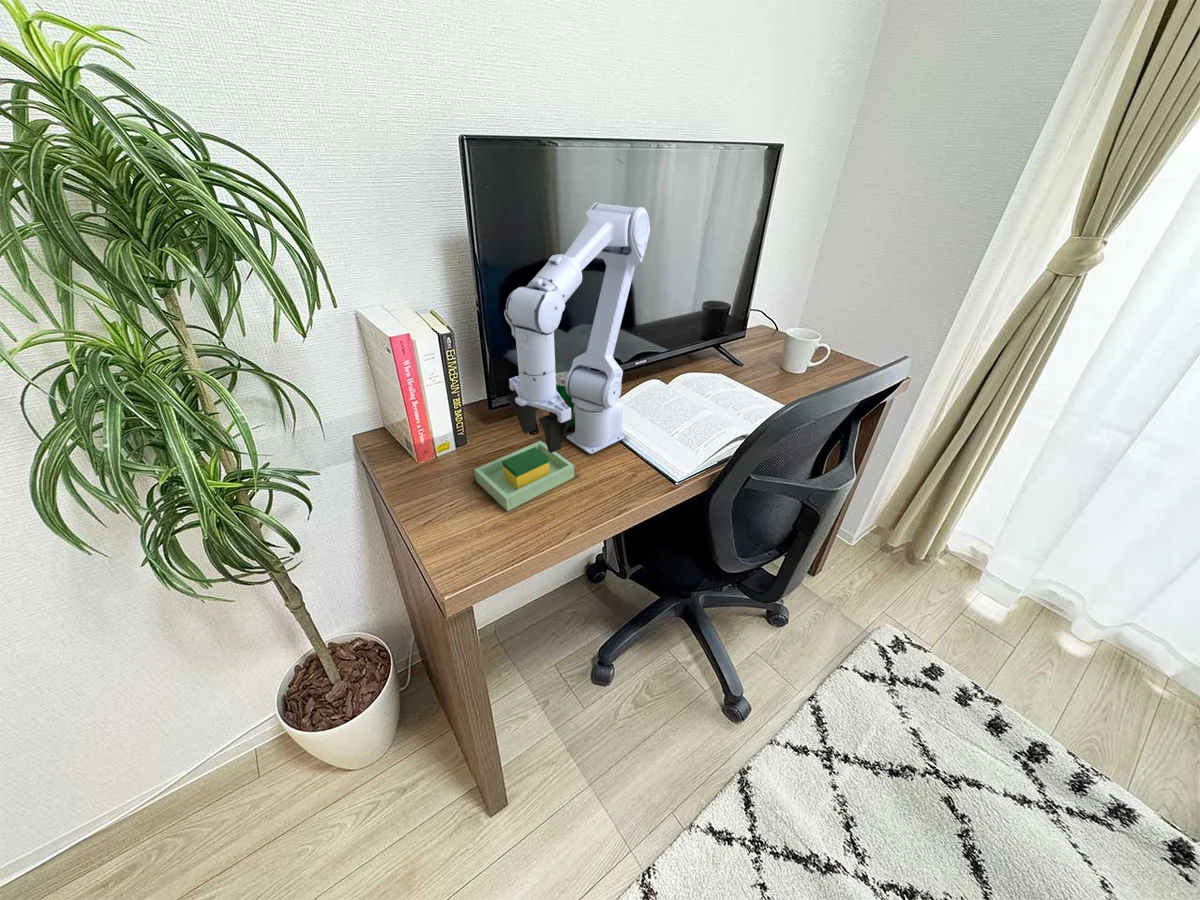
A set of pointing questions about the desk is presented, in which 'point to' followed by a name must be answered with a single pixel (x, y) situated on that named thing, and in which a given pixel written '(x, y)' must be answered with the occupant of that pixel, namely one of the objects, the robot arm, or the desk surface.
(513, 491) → the tray
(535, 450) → the sponge
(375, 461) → the desk surface
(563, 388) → the soda can
